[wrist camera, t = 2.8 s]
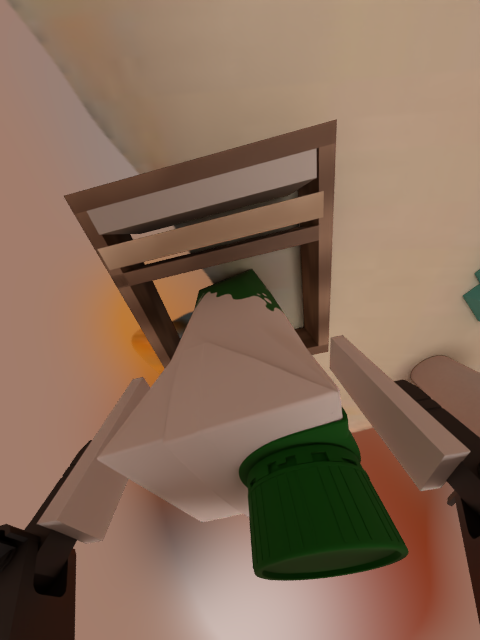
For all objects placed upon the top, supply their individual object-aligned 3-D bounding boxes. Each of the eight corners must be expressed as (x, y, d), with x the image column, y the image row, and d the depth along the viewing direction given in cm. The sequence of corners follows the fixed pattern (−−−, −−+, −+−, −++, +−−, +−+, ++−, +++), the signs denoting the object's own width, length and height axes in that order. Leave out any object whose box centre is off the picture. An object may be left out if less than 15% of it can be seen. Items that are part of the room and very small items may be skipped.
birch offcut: (144, 242, 19) (97, 249, 12) (288, 205, 18) (323, 190, 11) (151, 256, 19) (109, 270, 13) (289, 222, 18) (323, 217, 12)
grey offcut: (133, 217, 17) (86, 210, 12) (286, 177, 17) (316, 148, 11) (140, 233, 18) (99, 234, 12) (287, 195, 17) (316, 177, 12)
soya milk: (276, 319, 24) (408, 575, 6) (217, 340, 25) (186, 606, 7) (256, 258, 20) (477, 486, 2) (188, 286, 21) (-42, 585, 3)
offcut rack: (103, 204, 17) (63, 196, 13) (309, 148, 15) (336, 119, 12) (181, 359, 26) (173, 382, 22) (312, 332, 25) (328, 351, 21)
